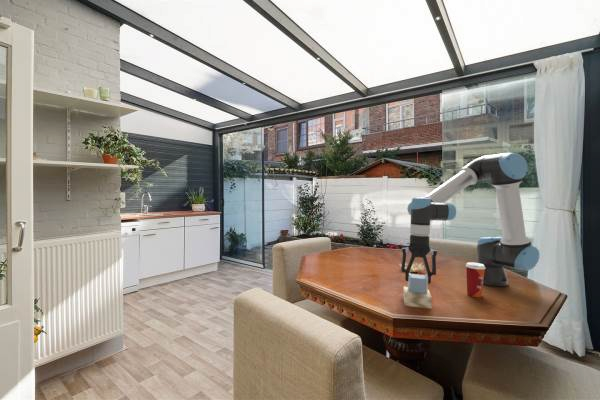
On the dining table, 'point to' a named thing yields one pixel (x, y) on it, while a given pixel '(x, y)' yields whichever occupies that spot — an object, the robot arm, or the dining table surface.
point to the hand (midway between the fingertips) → (417, 289)
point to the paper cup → (475, 279)
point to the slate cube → (418, 283)
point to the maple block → (417, 299)
